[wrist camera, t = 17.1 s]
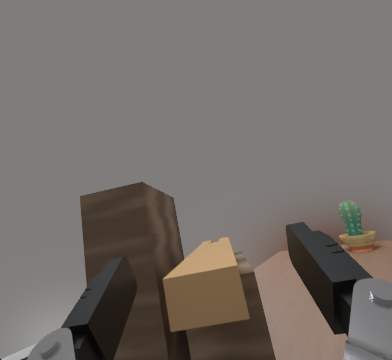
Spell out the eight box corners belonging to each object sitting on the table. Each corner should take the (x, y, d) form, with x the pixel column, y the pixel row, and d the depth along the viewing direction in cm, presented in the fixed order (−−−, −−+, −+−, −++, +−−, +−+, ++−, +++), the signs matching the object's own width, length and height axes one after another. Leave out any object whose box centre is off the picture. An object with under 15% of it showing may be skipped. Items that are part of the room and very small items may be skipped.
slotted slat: (249, 318, 10) (237, 265, 11) (170, 331, 11) (162, 279, 11) (231, 252, 34) (228, 236, 34) (207, 257, 34) (204, 241, 34)
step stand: (337, 609, 14) (227, 162, 21) (112, 620, 15) (79, 196, 23) (281, 420, 28) (225, 186, 35) (164, 434, 29) (133, 206, 36)
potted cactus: (390, 247, 99) (370, 195, 105) (365, 254, 96) (345, 200, 101) (359, 246, 114) (343, 200, 120) (336, 252, 110) (321, 205, 116)
